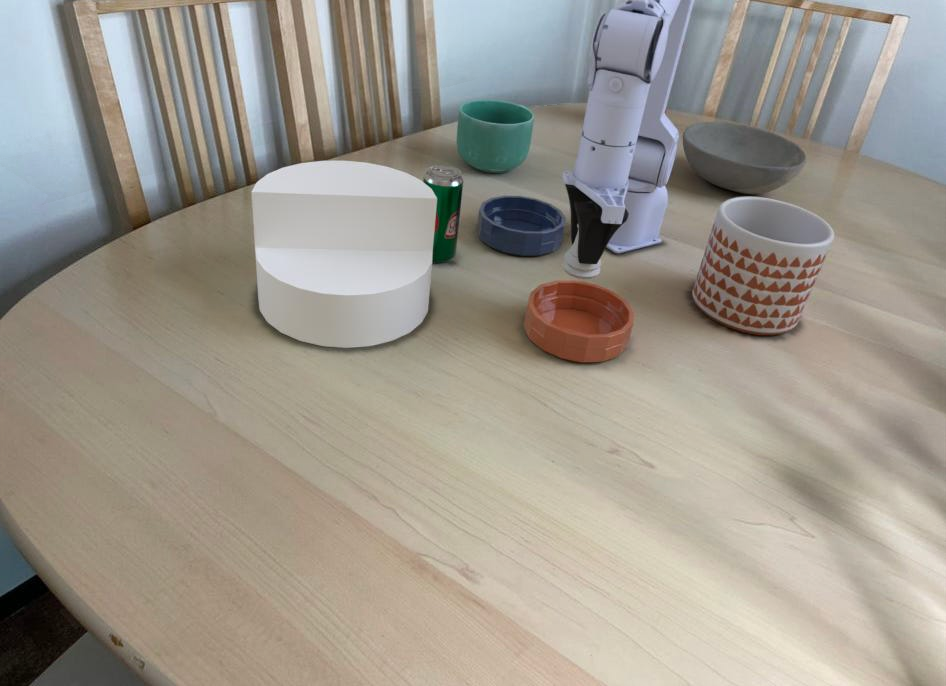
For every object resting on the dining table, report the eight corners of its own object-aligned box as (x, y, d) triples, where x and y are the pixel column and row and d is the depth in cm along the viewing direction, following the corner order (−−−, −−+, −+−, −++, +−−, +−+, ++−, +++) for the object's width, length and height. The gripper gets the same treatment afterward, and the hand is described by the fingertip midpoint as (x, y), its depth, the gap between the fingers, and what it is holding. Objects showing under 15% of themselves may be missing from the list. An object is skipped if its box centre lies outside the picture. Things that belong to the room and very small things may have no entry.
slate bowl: (526, 213, 114) (530, 190, 112) (578, 248, 107) (583, 224, 104) (460, 227, 108) (463, 202, 106) (510, 264, 100) (514, 239, 98)
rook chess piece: (557, 260, 87) (570, 196, 83) (594, 262, 88) (609, 199, 83) (565, 279, 84) (578, 214, 79) (603, 281, 84) (618, 217, 80)
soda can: (450, 267, 98) (459, 181, 91) (413, 260, 98) (419, 174, 92) (458, 250, 102) (468, 167, 95) (423, 244, 103) (429, 160, 96)
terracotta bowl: (580, 298, 95) (585, 272, 93) (648, 348, 87) (656, 321, 85) (503, 320, 89) (507, 293, 87) (569, 376, 81) (575, 348, 79)
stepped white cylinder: (251, 348, 79) (242, 234, 71) (264, 257, 95) (258, 156, 87) (438, 347, 83) (448, 240, 75) (420, 260, 99) (427, 164, 91)
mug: (497, 186, 122) (505, 129, 117) (439, 162, 128) (444, 107, 123) (551, 163, 134) (561, 110, 128) (495, 142, 139) (502, 91, 134)
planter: (723, 271, 105) (752, 187, 98) (815, 314, 98) (853, 227, 91) (671, 300, 97) (698, 210, 90) (766, 350, 89) (804, 256, 82)
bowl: (802, 185, 138) (818, 144, 133) (776, 221, 123) (793, 175, 118) (693, 153, 146) (705, 113, 142) (655, 183, 131) (667, 139, 126)
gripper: (559, 111, 82) (539, 222, 90) (585, 160, 70) (560, 284, 78) (621, 116, 83) (596, 226, 91) (656, 166, 71) (625, 287, 79)
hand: (583, 253), depth 84 cm, fingers closed on rook chess piece, 3 cm apart
